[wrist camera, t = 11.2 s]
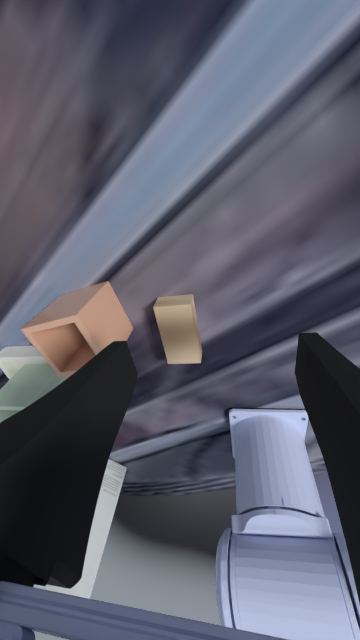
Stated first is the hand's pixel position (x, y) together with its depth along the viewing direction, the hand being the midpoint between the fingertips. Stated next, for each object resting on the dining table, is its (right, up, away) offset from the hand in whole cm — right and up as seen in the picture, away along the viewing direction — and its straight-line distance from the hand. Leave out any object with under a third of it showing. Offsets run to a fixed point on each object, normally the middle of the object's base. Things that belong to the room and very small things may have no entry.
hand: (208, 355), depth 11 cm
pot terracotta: (-9, +2, +12) cm, 15 cm away
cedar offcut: (-1, +1, +12) cm, 12 cm away
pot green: (-15, -5, +17) cm, 24 cm away
